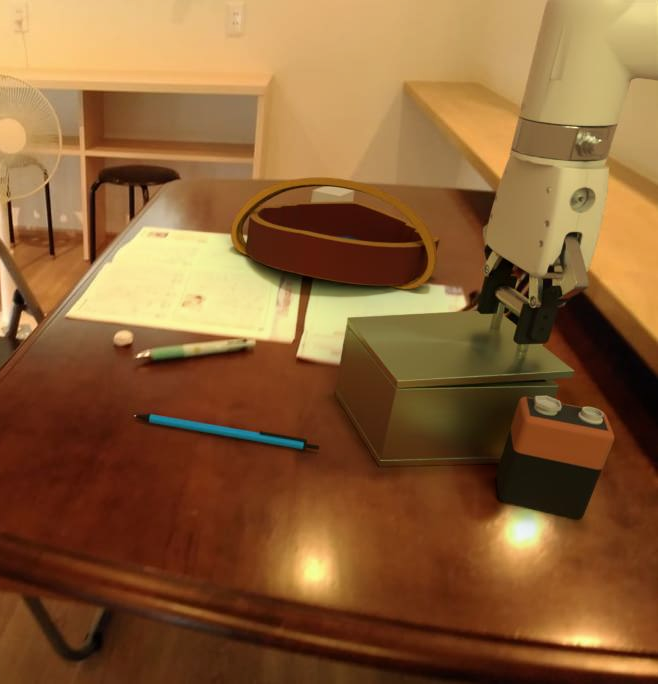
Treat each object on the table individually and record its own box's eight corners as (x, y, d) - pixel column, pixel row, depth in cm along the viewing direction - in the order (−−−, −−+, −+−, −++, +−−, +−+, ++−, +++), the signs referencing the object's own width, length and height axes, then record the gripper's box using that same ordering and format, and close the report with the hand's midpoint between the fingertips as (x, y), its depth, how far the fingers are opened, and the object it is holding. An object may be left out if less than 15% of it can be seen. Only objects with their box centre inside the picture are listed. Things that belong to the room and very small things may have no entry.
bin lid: (494, 316, 75) (506, 268, 73) (572, 378, 63) (589, 323, 61) (346, 323, 74) (352, 275, 72) (396, 388, 62) (405, 333, 60)
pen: (318, 453, 68) (319, 444, 67) (133, 421, 72) (133, 412, 72) (318, 448, 69) (320, 439, 68) (135, 417, 73) (135, 407, 72)
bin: (465, 391, 80) (484, 322, 76) (533, 462, 68) (559, 385, 64) (334, 393, 78) (346, 324, 74) (378, 467, 66) (396, 388, 62)
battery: (494, 475, 66) (522, 385, 61) (574, 493, 63) (610, 401, 59) (497, 503, 62) (527, 409, 57) (582, 523, 60) (621, 427, 55)
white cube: (349, 220, 140) (354, 190, 137) (335, 226, 136) (339, 196, 133) (323, 213, 143) (327, 185, 141) (308, 219, 139) (312, 190, 137)
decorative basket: (450, 280, 117) (473, 191, 112) (402, 311, 94) (427, 201, 89) (270, 242, 135) (283, 163, 130) (193, 260, 112) (204, 166, 107)
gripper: (676, 163, 53) (604, 368, 61) (544, 124, 68) (500, 292, 76) (582, 163, 52) (522, 370, 60) (470, 125, 67) (434, 294, 76)
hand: (510, 325), depth 68 cm, fingers closed on bin lid, 6 cm apart
